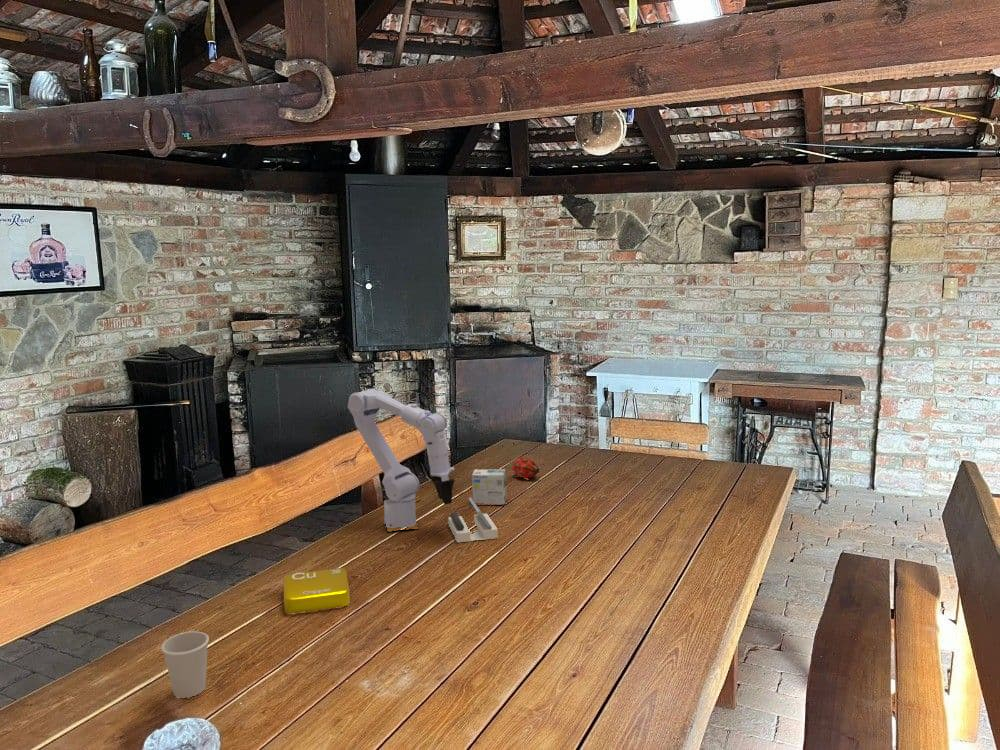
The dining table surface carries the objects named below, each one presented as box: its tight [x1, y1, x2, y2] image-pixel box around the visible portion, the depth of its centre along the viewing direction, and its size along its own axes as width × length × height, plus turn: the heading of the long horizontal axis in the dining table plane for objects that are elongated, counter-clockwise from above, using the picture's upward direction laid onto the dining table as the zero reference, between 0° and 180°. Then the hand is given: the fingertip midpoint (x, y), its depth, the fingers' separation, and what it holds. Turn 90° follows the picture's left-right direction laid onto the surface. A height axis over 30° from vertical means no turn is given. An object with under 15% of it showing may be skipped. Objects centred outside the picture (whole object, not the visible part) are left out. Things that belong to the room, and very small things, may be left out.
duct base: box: [447, 513, 499, 542], centre depth 222 cm, size 12×14×3 cm
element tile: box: [283, 567, 351, 613], centre depth 182 cm, size 15×15×5 cm
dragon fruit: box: [510, 456, 540, 479], centre depth 275 cm, size 8×8×12 cm
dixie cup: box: [160, 630, 210, 698], centre depth 143 cm, size 8×8×10 cm
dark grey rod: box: [450, 512, 464, 531], centre depth 221 cm, size 2×10×2 cm, turn 14°
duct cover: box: [468, 496, 492, 529], centre depth 222 cm, size 6×13×1 cm
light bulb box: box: [471, 468, 507, 505], centre depth 248 cm, size 11×7×11 cm, turn 84°
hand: (445, 501), depth 219 cm, fingers open, 7 cm apart
